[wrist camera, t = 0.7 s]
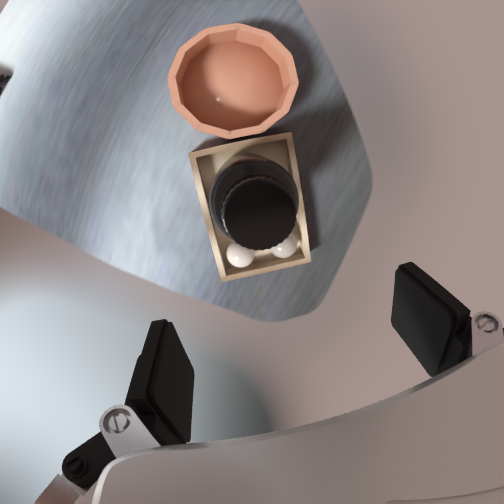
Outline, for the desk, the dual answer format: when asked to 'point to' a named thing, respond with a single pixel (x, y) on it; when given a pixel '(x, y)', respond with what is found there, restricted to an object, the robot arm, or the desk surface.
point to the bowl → (233, 81)
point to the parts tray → (204, 174)
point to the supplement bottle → (254, 201)
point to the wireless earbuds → (3, 80)
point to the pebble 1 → (239, 255)
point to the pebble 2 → (285, 247)
